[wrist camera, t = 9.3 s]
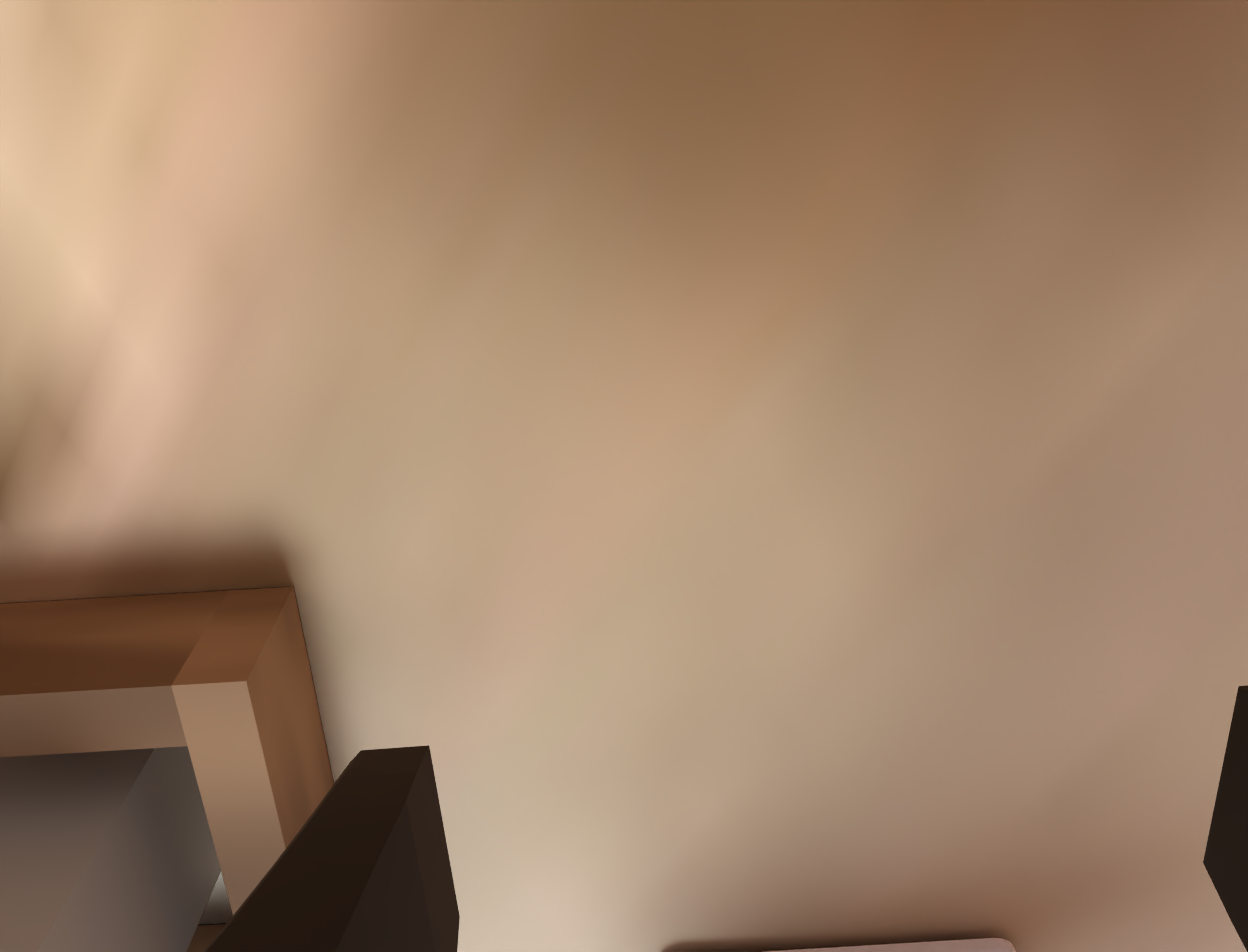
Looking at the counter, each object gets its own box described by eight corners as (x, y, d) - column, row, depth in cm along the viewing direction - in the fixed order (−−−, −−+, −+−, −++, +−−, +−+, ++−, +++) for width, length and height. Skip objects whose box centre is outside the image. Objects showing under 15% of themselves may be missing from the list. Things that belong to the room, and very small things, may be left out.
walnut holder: (368, 956, 24) (339, 1081, 21) (-58, 982, 24) (-142, 1110, 21) (293, 586, 20) (246, 681, 17) (-216, 616, 20) (-344, 716, 17)
